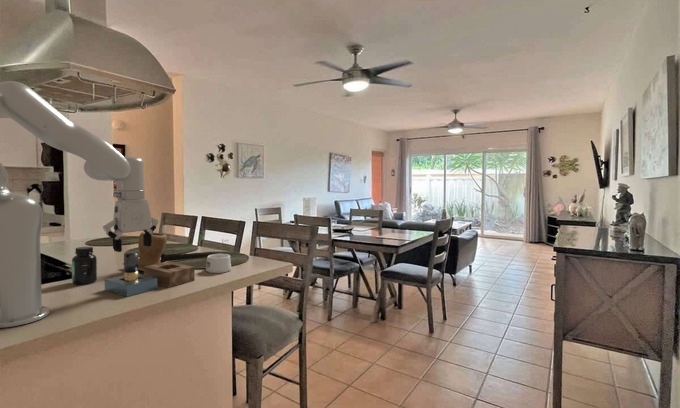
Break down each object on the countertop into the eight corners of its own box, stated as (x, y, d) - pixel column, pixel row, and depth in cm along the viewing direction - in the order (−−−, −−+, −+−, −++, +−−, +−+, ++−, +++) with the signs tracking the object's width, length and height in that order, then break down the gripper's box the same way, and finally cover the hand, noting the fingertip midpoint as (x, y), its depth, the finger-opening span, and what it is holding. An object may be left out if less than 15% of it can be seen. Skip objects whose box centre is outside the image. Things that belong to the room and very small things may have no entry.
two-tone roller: (128, 292, 112) (128, 254, 111) (121, 289, 114) (121, 253, 113) (141, 288, 116) (140, 252, 115) (133, 286, 118) (133, 251, 117)
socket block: (126, 296, 108) (126, 285, 107) (104, 290, 113) (104, 279, 113) (157, 288, 116) (157, 278, 116) (135, 282, 122) (135, 272, 122)
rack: (169, 287, 118) (169, 272, 118) (143, 280, 125) (143, 266, 124) (194, 280, 127) (194, 266, 126) (169, 274, 133) (169, 261, 133)
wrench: (219, 261, 165) (151, 266, 143) (214, 260, 169) (146, 265, 147) (220, 250, 166) (151, 253, 143) (214, 249, 169) (147, 252, 147)
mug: (235, 271, 142) (235, 256, 141) (212, 275, 135) (212, 259, 134) (221, 265, 150) (221, 251, 150) (198, 269, 143) (198, 254, 143)
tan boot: (173, 269, 142) (173, 232, 141) (143, 275, 131) (143, 235, 130) (151, 263, 150) (151, 228, 149) (122, 269, 140) (121, 231, 139)
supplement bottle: (69, 286, 116) (69, 250, 115) (75, 280, 122) (74, 246, 122) (94, 284, 119) (94, 249, 118) (98, 278, 125) (98, 245, 125)
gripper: (109, 198, 104) (112, 255, 105) (163, 195, 119) (164, 245, 120) (95, 196, 107) (98, 252, 109) (149, 194, 122) (151, 242, 124)
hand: (133, 248), depth 115 cm, fingers open, 9 cm apart
